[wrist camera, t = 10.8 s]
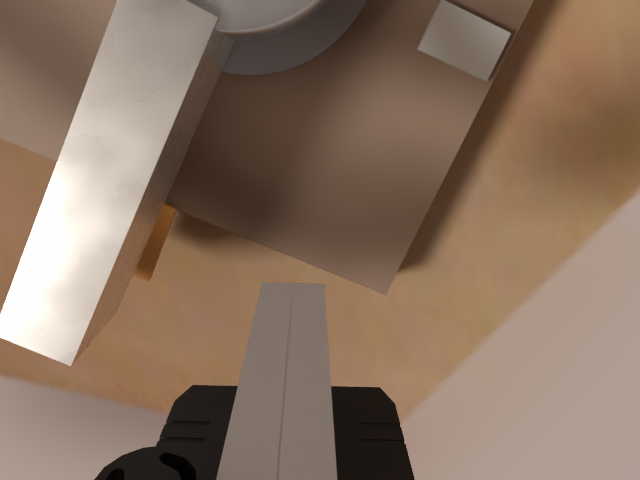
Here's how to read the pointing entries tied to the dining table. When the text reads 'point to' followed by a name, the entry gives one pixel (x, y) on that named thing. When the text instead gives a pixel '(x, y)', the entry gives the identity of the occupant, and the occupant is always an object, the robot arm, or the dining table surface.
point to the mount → (292, 120)
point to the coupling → (126, 160)
